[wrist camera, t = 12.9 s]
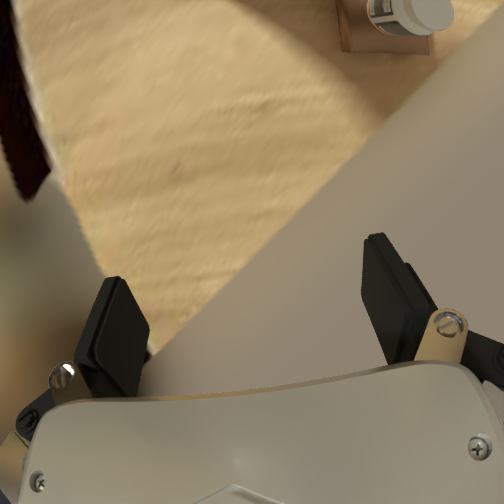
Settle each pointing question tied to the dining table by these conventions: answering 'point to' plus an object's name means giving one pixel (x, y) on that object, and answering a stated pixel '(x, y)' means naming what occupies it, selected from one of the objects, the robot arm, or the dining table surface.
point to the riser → (372, 32)
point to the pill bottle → (410, 16)
